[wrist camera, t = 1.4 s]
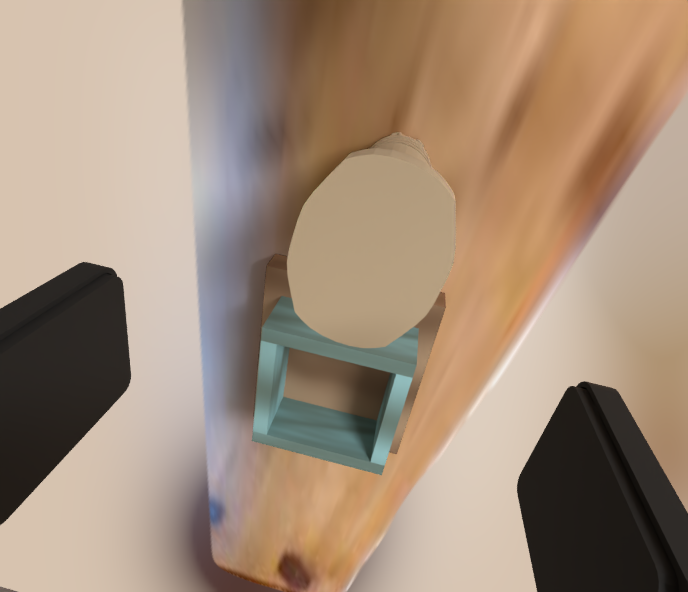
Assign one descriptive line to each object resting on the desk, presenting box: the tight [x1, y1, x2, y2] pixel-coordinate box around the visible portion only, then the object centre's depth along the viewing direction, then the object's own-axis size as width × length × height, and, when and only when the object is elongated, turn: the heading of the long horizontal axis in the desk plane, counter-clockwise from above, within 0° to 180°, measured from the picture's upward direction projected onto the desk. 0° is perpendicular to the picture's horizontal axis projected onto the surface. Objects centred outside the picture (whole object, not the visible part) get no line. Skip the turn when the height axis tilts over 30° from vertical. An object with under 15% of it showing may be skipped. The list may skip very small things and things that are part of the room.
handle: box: [287, 132, 456, 348], centre depth 20 cm, size 5×6×15 cm
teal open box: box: [252, 254, 446, 475], centre depth 31 cm, size 14×12×6 cm
